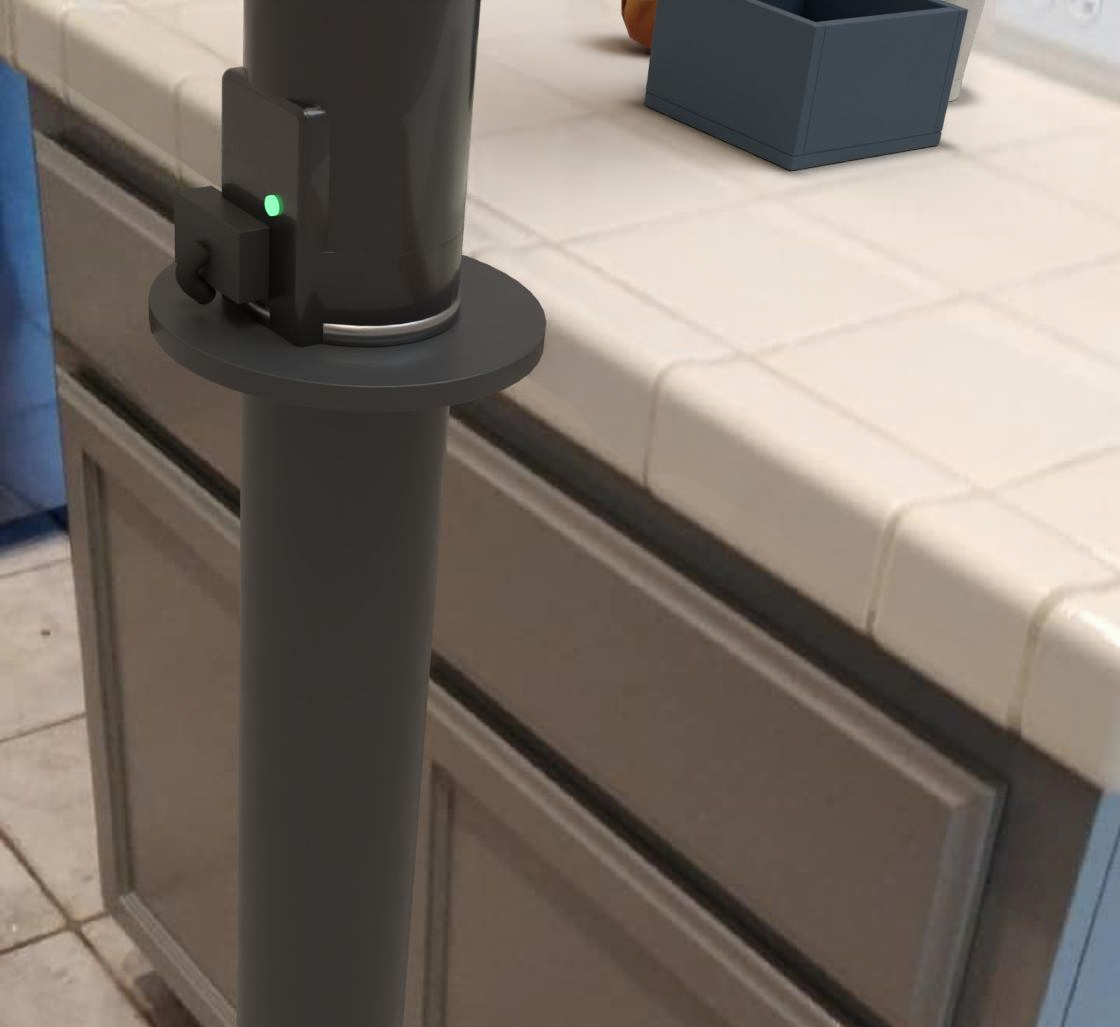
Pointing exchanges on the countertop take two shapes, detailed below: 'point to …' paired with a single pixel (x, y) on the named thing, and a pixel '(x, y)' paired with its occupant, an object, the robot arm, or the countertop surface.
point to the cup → (965, 40)
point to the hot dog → (639, 19)
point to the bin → (807, 74)
